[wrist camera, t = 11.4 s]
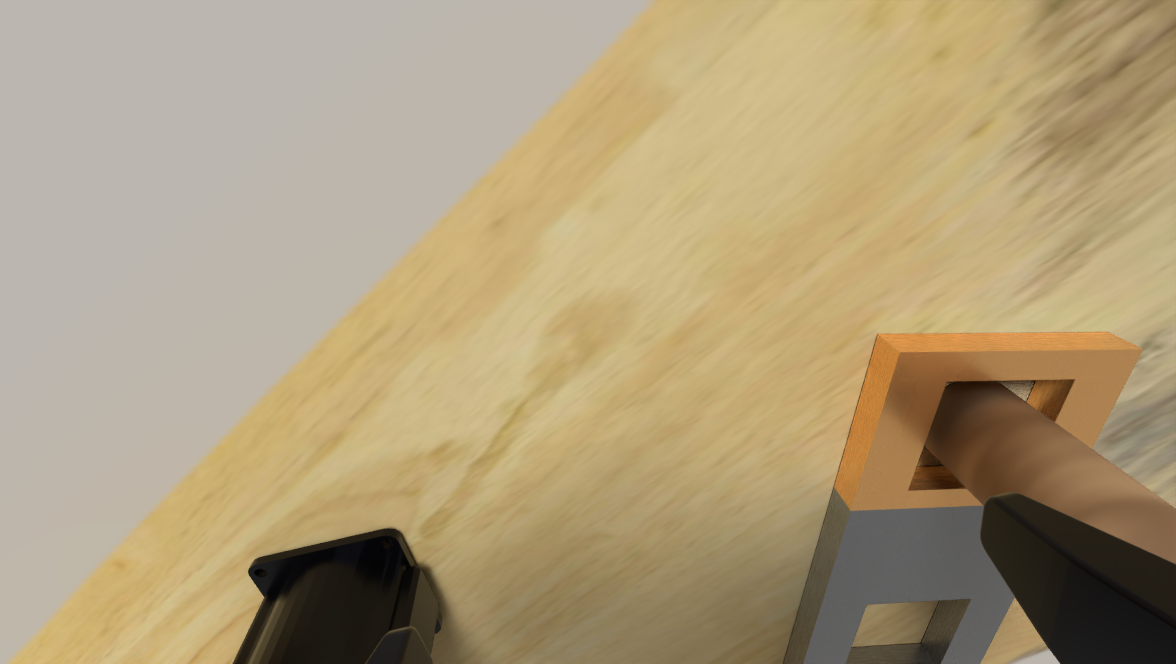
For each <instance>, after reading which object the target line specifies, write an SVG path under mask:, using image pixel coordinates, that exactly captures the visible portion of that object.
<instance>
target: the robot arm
mask: <svg viewBox="0 0 1176 664" xmlns="http://www.w3.org/2000/svg"><path fill="white" fill-rule="evenodd" d="M980 539H981V543H982V545H983V548H984V550H985V551H986V553H987V555H988V556H989V558H990V559H991V561H992V562H993V564H994V565H995V567H996V569H997V570H998V572H999V573H1000V575H1001V576H1002V578H1003V579H1004V581H1005V582H1006V584H1007V586H1008V587H1009V589H1010V590H1011V592H1012V593H1013V595H1014V596H1015V598H1016V599H1017V601H1018V603H1019V604H1020V606H1021V607H1022V609H1023V610H1024V612H1025V613H1026V615H1027V617H1028V618H1029V620H1030V621H1031V623H1032V624H1033V626H1034V627H1035V629H1036V630H1037V632H1038V633H1039V635H1040V636H1041V638H1042V639H1043V641H1044V642H1045V644H1046V645H1047V647H1048V648H1049V649H1050V651H1051V652H1052V653H1053V655H1054V656H1055V657H1056V658H1057V660H1058V661H1059V662H1060V664H1176V564H1175V563H1173V562H1170V561H1168V560H1166V559H1164V558H1162V557H1159V556H1157V555H1155V554H1153V553H1151V552H1148V551H1146V550H1144V549H1142V548H1140V547H1137V546H1135V545H1133V544H1131V543H1129V542H1126V541H1124V540H1122V539H1120V538H1118V537H1115V536H1113V535H1111V534H1109V533H1107V532H1104V531H1102V530H1100V529H1098V528H1095V527H1093V526H1091V525H1089V524H1087V523H1084V522H1082V521H1080V520H1078V519H1076V518H1073V517H1071V516H1069V515H1067V514H1065V513H1062V512H1060V511H1058V510H1056V509H1054V508H1051V507H1049V506H1047V505H1045V504H1043V503H1040V502H1038V501H1036V500H1034V499H1032V498H1029V497H1027V496H1025V495H1023V494H1020V493H1016V492H1007V493H1003V494H998V495H994V496H990V497H988V498H987V499H986V500H985V502H984V507H983V514H982V521H981V528H980ZM385 540H390V541H385ZM263 569H264V570H263ZM248 573H249V576H250V577H251V579H252V580H253V582H254V583H255V585H256V586H257V587H258V589H259V590H260V592H261V593H262V595H263V596H264V599H263V601H262V603H261V606H260V608H259V610H258V612H257V614H256V616H255V618H254V620H253V622H252V624H251V626H250V628H249V630H248V633H247V635H246V637H245V639H244V641H243V643H242V645H241V647H240V649H239V651H238V653H237V655H236V657H235V660H234V662H233V664H433V661H432V658H431V651H432V645H433V639H434V634H436V633H438V632H439V631H440V629H441V625H442V617H441V615H440V613H439V611H438V608H439V604H438V602H437V600H436V598H435V596H434V594H433V592H432V590H431V587H430V585H429V583H428V581H427V579H426V577H425V575H424V573H423V571H422V569H420V568H419V567H418V566H416V565H415V563H414V561H413V559H412V557H411V555H410V553H409V551H408V549H407V547H406V545H405V543H404V541H403V539H402V537H401V535H400V533H399V532H398V531H396V530H394V529H390V528H388V529H382V530H377V531H373V532H368V533H364V534H360V535H355V536H351V537H347V538H342V539H338V540H333V541H329V542H325V543H320V544H316V545H311V546H307V547H303V548H298V549H294V550H290V551H285V552H281V553H276V554H272V555H268V556H263V557H259V558H257V559H255V560H254V561H253V562H252V564H251V566H250V568H249V570H248Z"/></svg>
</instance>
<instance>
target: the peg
mask: <svg viewBox="0 0 1176 664" xmlns="http://www.w3.org/2000/svg"><path fill="white" fill-rule="evenodd" d="M924 446H925V447H926V448H927V449H928V450H929V451H930V452H931V453H932V454H933V455H934V456H935V457H936V458H937V459H938V460H939V461H940V462H941V463H942V464H943V465H944V466H945V467H946V468H947V469H948V470H949V471H950V472H951V473H952V474H953V475H954V476H955V477H956V478H957V479H958V480H959V481H960V482H961V483H962V484H963V485H964V487H965V488H966V489H967V490H968V491H969V492H970V493H971V494H972V495H973V496H974V497H975V498H976V499H977V500H978V501H979V502H980V503H981V504H982V505H983V506H984V502H985V500H986V499H987V498H988V497H990V496H994V495H998V494H1003V493H1007V492H1016V493H1020V494H1023V495H1025V496H1027V497H1029V498H1032V499H1034V500H1036V501H1038V502H1040V503H1043V504H1045V505H1047V506H1049V507H1051V508H1054V509H1056V510H1058V511H1060V512H1062V513H1065V514H1067V515H1069V516H1071V517H1073V518H1076V519H1078V520H1080V521H1082V522H1084V523H1087V524H1089V525H1091V526H1093V527H1095V528H1098V529H1100V530H1102V531H1104V532H1107V533H1109V534H1111V535H1113V536H1115V537H1118V538H1120V539H1122V540H1124V541H1126V542H1129V543H1131V544H1133V545H1135V546H1137V547H1140V548H1142V549H1144V550H1146V551H1148V552H1151V553H1153V554H1155V555H1157V556H1159V557H1162V558H1164V559H1166V560H1168V561H1170V562H1173V563H1175V564H1176V508H1174V507H1173V506H1171V505H1170V504H1169V503H1167V502H1166V501H1164V500H1163V499H1162V498H1160V497H1159V496H1157V495H1156V494H1155V493H1153V492H1152V491H1150V490H1149V489H1148V488H1146V487H1145V486H1143V485H1142V484H1141V483H1139V482H1138V481H1136V480H1135V479H1134V478H1132V477H1131V476H1129V475H1128V474H1126V473H1125V472H1124V471H1122V470H1121V469H1119V468H1118V467H1117V466H1115V465H1114V464H1112V463H1111V462H1110V461H1108V460H1107V459H1105V458H1104V457H1103V456H1101V455H1100V454H1098V453H1097V452H1096V451H1094V450H1093V449H1091V448H1090V447H1089V446H1087V445H1086V444H1084V443H1083V442H1082V441H1080V440H1079V439H1077V438H1076V437H1075V436H1073V435H1072V434H1070V433H1069V432H1068V431H1066V430H1065V429H1063V428H1062V427H1061V426H1059V425H1058V424H1056V423H1055V422H1054V421H1052V420H1051V419H1049V418H1048V417H1047V416H1045V415H1044V414H1042V413H1041V412H1040V411H1038V410H1037V409H1035V408H1034V407H1033V406H1031V405H1030V404H1028V403H1027V402H1026V401H1024V400H1023V399H1021V398H1020V397H1018V396H1017V395H1016V394H1014V393H1013V392H1011V391H1010V390H1009V389H1007V388H1006V387H1004V386H1003V385H1002V384H1000V383H999V382H997V381H957V382H955V383H952V384H950V385H949V386H947V387H945V389H944V391H943V394H942V397H941V400H940V402H939V405H938V408H937V411H936V414H935V416H934V419H933V422H932V425H931V427H930V430H929V433H928V436H927V439H926V441H925V444H924Z"/></svg>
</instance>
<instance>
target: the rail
mask: <svg viewBox="0 0 1176 664" xmlns="http://www.w3.org/2000/svg"><path fill="white" fill-rule="evenodd" d="M1142 351H1143V349H1142V348H1140V347H1138V346H1136V345H1134V344H1131V343H1129V342H1127V341H1125V340H1123V339H1121V338H1119V337H1117V336H1115V335H1113V334H1111V333H1109V332H1077V333H967V334H878V336H877V339H876V343H875V346H874V350H873V353H872V357H871V360H870V364H869V367H868V371H867V374H866V377H865V381H864V384H863V388H862V391H861V395H860V398H859V402H858V405H857V409H856V412H855V416H854V419H853V423H852V426H851V430H850V433H849V437H848V440H847V444H846V447H845V451H844V454H843V458H842V461H841V465H840V468H839V472H838V475H837V479H836V482H835V486H834V489H833V493H832V496H831V500H830V503H829V506H828V510H827V513H826V517H825V520H824V524H823V527H822V531H821V534H820V538H819V541H818V545H817V548H816V552H815V555H814V559H813V562H812V566H811V569H810V573H809V576H808V580H807V583H806V587H805V590H804V594H803V597H802V601H801V604H800V608H799V611H798V615H797V618H796V622H795V625H794V629H793V632H792V635H791V639H790V642H789V646H788V649H787V653H786V656H785V660H784V663H783V664H980V663H981V661H982V659H983V657H984V655H985V653H986V651H987V649H988V647H989V646H990V644H991V642H992V640H993V638H994V636H995V634H996V632H997V630H998V628H999V626H1000V624H1001V622H1002V620H1003V619H1004V617H1005V615H1006V613H1007V611H1008V609H1009V607H1010V605H1011V603H1012V601H1013V599H1014V597H1015V596H1014V595H1013V593H1012V592H1011V590H1010V589H1009V587H1008V586H1007V584H1006V582H1005V581H1004V579H1003V578H1002V576H1001V575H1000V573H999V572H998V570H997V569H996V567H995V565H994V564H993V562H992V561H991V559H990V558H989V556H988V555H987V553H986V551H985V550H984V548H983V545H982V543H981V539H980V528H981V521H982V514H983V507H984V506H983V505H982V504H981V503H980V502H979V501H978V500H977V499H976V498H975V497H974V496H973V495H972V494H971V493H970V492H969V491H968V490H967V489H966V488H965V487H964V485H963V484H962V483H961V482H960V481H959V480H958V479H957V478H956V477H955V476H954V475H953V474H952V473H951V472H950V471H949V470H948V469H947V468H946V467H945V466H929V467H916V466H917V464H918V461H919V458H920V455H921V452H922V450H923V447H924V444H925V441H926V439H927V436H928V433H929V430H930V427H931V425H932V422H933V419H934V416H935V414H936V411H937V408H938V405H939V402H940V400H941V397H942V394H943V391H944V389H945V386H946V383H947V382H949V381H1005V380H1036V382H1035V384H1034V387H1033V389H1032V391H1031V393H1030V396H1029V398H1028V400H1027V403H1028V404H1030V405H1031V406H1033V407H1034V408H1035V409H1037V410H1038V411H1040V412H1041V413H1042V414H1044V415H1045V416H1047V417H1048V418H1049V419H1051V420H1052V421H1054V422H1055V423H1056V424H1058V425H1059V426H1061V427H1062V428H1063V429H1065V430H1066V431H1068V432H1069V433H1070V434H1072V435H1073V436H1075V437H1076V438H1077V439H1079V440H1080V441H1082V442H1083V443H1084V444H1086V445H1087V446H1089V447H1090V448H1091V449H1092V447H1093V445H1094V443H1095V441H1096V439H1097V438H1098V436H1099V434H1100V432H1101V430H1102V428H1103V426H1104V424H1105V422H1106V420H1107V418H1108V416H1109V414H1110V413H1111V411H1112V409H1113V407H1114V405H1115V403H1116V401H1117V399H1118V397H1119V395H1120V393H1121V391H1122V389H1123V387H1124V386H1125V384H1126V382H1127V380H1128V378H1129V376H1130V374H1131V372H1132V370H1133V368H1134V366H1135V364H1136V362H1137V361H1138V359H1139V357H1140V355H1141V353H1142ZM937 600H940V601H939V603H938V605H937V608H936V610H935V612H934V615H933V617H932V619H931V621H930V624H929V626H928V628H927V630H926V633H925V635H924V637H923V640H922V642H921V643H917V644H902V645H887V646H871V647H856V648H851V647H852V644H853V641H854V638H855V636H856V633H857V630H858V627H859V625H860V622H861V619H862V616H863V614H864V611H865V608H866V605H868V604H885V603H902V602H920V601H937Z"/></svg>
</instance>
